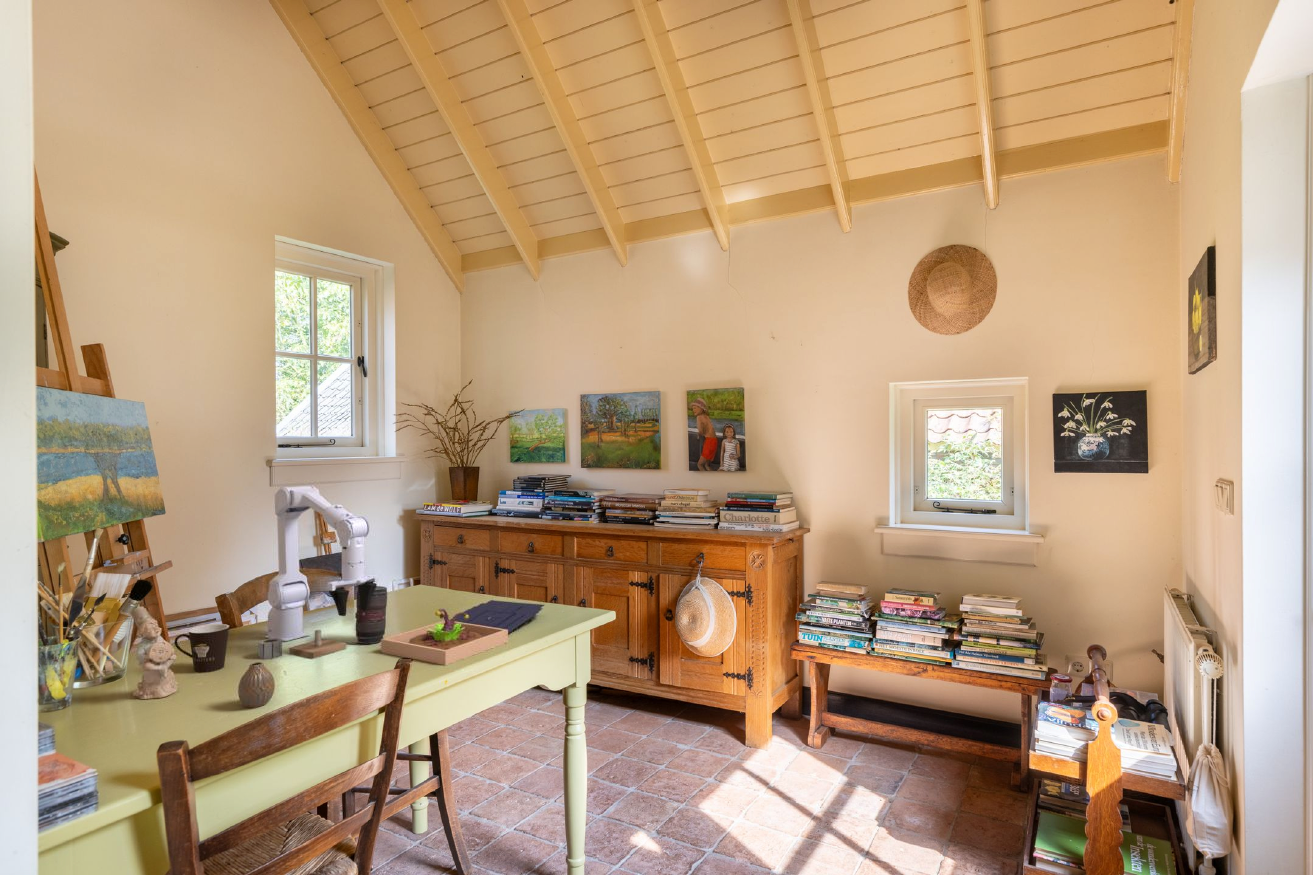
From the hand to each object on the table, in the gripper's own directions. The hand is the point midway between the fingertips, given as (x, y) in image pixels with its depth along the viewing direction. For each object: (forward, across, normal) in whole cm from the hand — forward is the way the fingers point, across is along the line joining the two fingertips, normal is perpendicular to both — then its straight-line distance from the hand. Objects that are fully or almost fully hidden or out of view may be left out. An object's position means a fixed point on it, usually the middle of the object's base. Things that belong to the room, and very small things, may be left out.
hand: (353, 612), depth 195 cm
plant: (+11, +14, -20) cm, 27 cm away
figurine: (+10, -44, +10) cm, 46 cm away
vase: (+10, -37, -16) cm, 42 cm away
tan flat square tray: (+10, +14, -20) cm, 26 cm away
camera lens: (+10, +8, +3) cm, 13 cm away
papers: (+11, +39, -14) cm, 43 cm away
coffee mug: (+10, -28, +20) cm, 36 cm away
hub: (+10, -14, +15) cm, 23 cm away
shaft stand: (+10, -5, +8) cm, 14 cm away
